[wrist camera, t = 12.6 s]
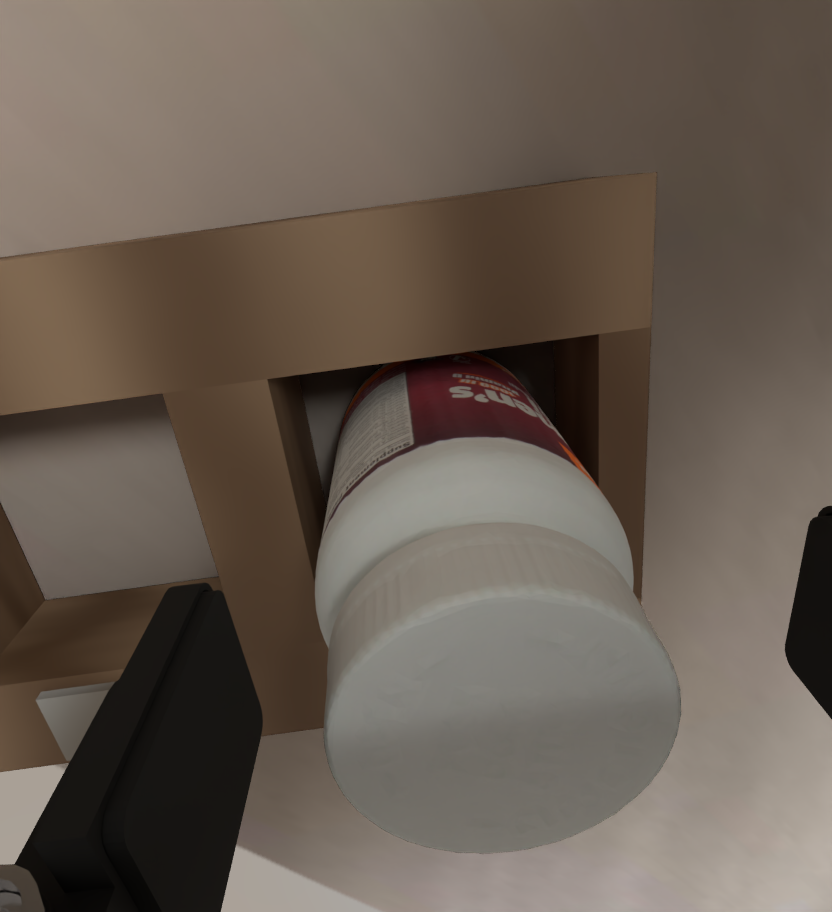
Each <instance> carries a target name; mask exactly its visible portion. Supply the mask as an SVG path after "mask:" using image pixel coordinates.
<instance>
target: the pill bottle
mask: <svg viewBox="0 0 832 912" xmlns="http://www.w3.org/2000/svg"><path fill="white" fill-rule="evenodd" d="M633 578H634V576H633V562H632V557H631V551H630V547H629V544H628V540H627V537H626V534H625V532H624V529H623V527H622V525H621V523H620V521H619V519H618V517H617V515H616V513H615V512H614V510H613V508H612V507H611V505H610V504H609V502H608V501H607V499H606V498H605V496H604V495H603V493H602V492H601V490H600V489H599V487H598V486H597V485H596V483H595V482H594V480H593V479H592V478H591V476H590V475H589V473H588V472H587V471H586V470H585V468H584V466H583V465H582V464H581V463H580V461H579V460H578V459H577V457H576V456H575V454H574V453H573V452H572V450H571V449H570V448H569V446H568V445H567V443H566V442H565V440H564V439H563V438H562V436H561V435H560V433H559V432H558V431H557V430H556V428H555V427H554V426H553V424H552V423H551V421H550V420H549V418H548V417H547V416H546V415H545V413H544V412H543V411H542V410H541V408H540V407H539V405H538V404H537V403H536V401H535V400H534V399H533V397H532V396H531V394H530V393H529V392H528V391H527V389H526V388H525V387H524V386H523V385H522V384H521V382H520V381H519V380H518V379H517V378H516V377H515V376H514V375H513V374H512V373H511V372H510V371H509V370H507V369H506V368H505V367H503V366H502V365H500V364H499V363H498V362H496V361H494V360H492V359H491V358H489V357H486V356H484V355H482V354H480V353H477V352H474V351H470V352H463V353H456V354H448V355H441V356H434V357H426V358H419V359H412V360H404V361H397V362H390V363H386V364H384V365H383V366H382V367H381V368H379V369H378V370H377V371H375V372H374V373H373V374H372V375H371V376H370V377H369V378H368V379H367V380H366V381H365V382H364V383H363V384H362V385H361V387H360V388H359V389H358V391H357V392H356V394H355V395H354V397H353V399H352V400H351V402H350V404H349V406H348V409H347V411H346V414H345V417H344V420H343V423H342V427H341V431H340V436H339V440H338V446H337V452H336V459H335V465H334V471H333V477H332V482H331V488H330V494H329V500H328V505H327V511H326V517H325V522H324V528H323V533H322V539H321V544H320V548H319V552H318V559H317V566H316V577H315V603H316V612H317V617H318V621H319V626H320V629H321V632H322V635H323V637H324V640H325V642H326V644H327V646H328V648H329V651H328V663H327V692H326V703H325V714H324V744H325V752H326V756H327V760H328V764H329V767H330V770H331V772H332V774H333V777H334V779H335V781H336V782H337V784H338V786H339V788H340V789H341V791H342V793H343V794H344V796H345V797H346V798H347V799H348V800H349V802H350V803H351V804H352V805H353V806H354V807H355V808H356V809H357V810H358V811H359V812H360V813H361V814H362V815H364V816H365V817H366V818H368V819H369V820H370V821H372V822H373V823H374V824H376V825H377V826H378V827H380V828H381V829H383V830H385V831H387V832H389V833H390V834H392V835H395V836H397V837H399V838H402V839H404V840H406V841H409V842H412V843H415V844H419V845H422V846H425V847H429V848H434V849H439V850H445V851H452V852H456V853H480V854H483V853H500V852H511V851H519V850H525V849H531V848H534V847H538V846H542V845H546V844H550V843H554V842H557V841H561V840H563V839H565V838H568V837H571V836H573V835H576V834H578V833H580V832H583V831H585V830H587V829H589V828H591V827H593V826H595V825H597V824H599V823H600V822H602V821H604V820H605V819H607V818H609V817H610V816H612V815H614V814H615V813H617V812H618V811H619V810H620V809H622V808H623V807H624V806H625V805H627V804H628V803H629V802H631V801H632V800H633V799H634V798H635V797H637V796H638V795H639V794H640V793H641V792H642V791H643V790H644V789H645V788H646V787H647V786H648V785H649V784H650V782H651V781H652V780H653V778H654V777H655V776H656V775H657V773H658V772H659V771H660V769H661V768H662V766H663V764H664V762H665V761H666V759H667V757H668V756H669V753H670V751H671V749H672V747H673V744H674V740H675V738H676V736H677V732H678V727H679V722H680V716H681V698H680V687H679V683H678V679H677V676H676V673H675V670H674V667H673V664H672V662H671V660H670V657H669V655H668V653H667V651H666V650H665V648H664V646H663V644H662V643H661V641H660V639H659V638H658V636H657V634H656V632H655V631H654V629H653V627H652V626H651V624H650V622H649V621H648V619H647V618H646V616H645V614H644V611H643V609H642V607H641V605H640V603H639V601H638V600H637V598H636V596H635V594H634V593H633Z"/></svg>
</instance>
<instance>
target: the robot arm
mask: <svg viewBox="0 0 832 912" xmlns="http://www.w3.org/2000/svg"><path fill="white" fill-rule="evenodd" d="M785 653H786V657H787V660H788V663H789V665H790V667H791V668H792V670H793V671H794V673H795V674H796V675H797V676H798V678H799V679H800V680H801V681H802V683H803V684H804V685H805V686H806V688H807V689H808V690H809V691H810V693H811V694H812V695H813V696H814V698H815V699H816V700H817V701H818V703H819V704H820V705H821V706H822V708H823V709H824V710H825V711H826V713H827V714H828V715H829V716H830V718H831V719H832V506H827V507H825V508H823V509H822V510H821V511H820V512H819V514H818V517H815V518H813V519H812V520H811V521H810V524H809V526H808V532H807V537H806V542H805V547H804V552H803V557H802V562H801V567H800V572H799V577H798V582H797V588H796V593H795V598H794V603H793V608H792V613H791V618H790V623H789V628H788V633H787V638H786V644H785ZM262 727H263V715H262V709H261V705H260V702H259V699H258V696H257V693H256V690H255V687H254V684H253V681H252V678H251V675H250V672H249V669H248V666H247V663H246V660H245V657H244V654H243V651H242V647H241V644H240V641H239V638H238V635H237V632H236V629H235V626H234V623H233V620H232V617H231V614H230V611H229V608H228V605H227V602H226V599H225V596H224V594H223V592H222V591H220V590H215V591H213V589H212V587H211V586H210V585H209V584H208V583H197V584H188V585H180V586H172V587H170V588H168V590H167V591H166V592H165V594H164V596H163V598H162V600H161V602H160V604H159V606H158V607H157V609H156V611H155V613H154V615H153V617H152V619H151V621H150V622H149V624H148V626H147V628H146V630H145V632H144V634H143V636H142V638H141V639H140V641H139V643H138V645H137V647H136V649H135V651H134V653H133V654H132V656H131V658H130V660H129V662H128V664H127V666H126V668H125V669H124V671H123V673H122V675H121V677H120V679H119V680H118V681H116V682H115V683H114V684H113V685H112V687H111V688H110V690H109V691H108V693H107V695H106V696H105V698H104V700H103V702H102V704H101V706H100V707H99V709H98V711H97V713H96V715H95V717H94V719H93V720H92V722H91V724H90V726H89V728H88V730H87V732H86V733H85V735H84V737H83V739H82V741H81V743H80V744H79V746H78V748H77V750H76V752H75V754H74V756H73V757H72V759H71V761H70V763H69V765H68V767H67V768H66V770H65V772H64V774H63V776H62V778H61V780H60V781H59V783H58V785H57V787H56V789H55V791H54V793H53V794H52V796H51V798H50V800H49V802H48V804H47V805H46V807H45V809H44V811H43V813H42V815H41V817H40V818H39V820H38V822H37V824H36V826H35V828H34V829H33V832H32V833H31V835H30V837H29V839H28V841H27V842H26V844H25V846H24V848H23V850H22V852H21V853H20V855H19V857H18V859H17V861H16V863H15V864H12V865H0V912H221V908H222V903H223V899H224V895H225V890H226V886H227V882H228V877H229V872H230V869H231V864H232V860H233V856H234V851H235V847H236V843H237V838H238V834H239V829H240V825H241V821H242V816H243V812H244V808H245V803H246V799H247V795H248V790H249V786H250V782H251V777H252V773H253V769H254V764H255V760H256V756H257V751H258V747H259V743H260V738H261V734H262Z"/></svg>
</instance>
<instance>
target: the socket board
mask: <svg viewBox="0 0 832 912" xmlns="http://www.w3.org/2000/svg"><path fill="white" fill-rule="evenodd" d="M656 182H657V172H653V173H641V174H628V175H616V176H604V177H592V178H585V179H577V180H570V181H563V182H555V183H548V184H541V185H533V186H526V187H518V188H511V189H504V190H496V191H489V192H481V193H474V194H467V195H459V196H452V197H445V198H437V199H430V200H422V201H415V202H408V203H400V204H393V205H385V206H378V207H371V208H363V209H356V210H349V211H341V212H334V213H326V214H319V215H312V216H304V217H297V218H289V219H282V220H275V221H267V222H260V223H252V224H245V225H238V226H230V227H223V228H216V229H208V230H201V231H193V232H186V233H179V234H171V235H164V236H156V237H149V238H142V239H134V240H127V241H120V242H112V243H105V244H97V245H90V246H83V247H75V248H68V249H60V250H53V251H46V252H38V253H31V254H24V255H16V256H9V257H1V258H0V415H7V414H14V413H22V412H29V411H36V410H44V409H51V408H59V407H66V406H73V405H81V404H88V403H95V402H103V401H110V400H117V399H125V398H132V397H139V396H147V395H154V394H163V398H164V401H165V404H166V407H167V411H168V414H169V417H170V420H171V423H172V427H173V430H174V433H175V436H176V440H177V443H178V446H179V449H180V452H181V456H182V459H183V462H184V465H185V469H186V472H187V475H188V478H189V481H190V485H191V488H192V491H193V494H194V498H195V501H196V504H197V507H198V511H199V514H200V517H201V520H202V523H203V527H204V530H205V533H206V536H207V540H208V543H209V546H210V549H211V552H212V556H213V559H214V562H215V565H216V569H217V572H218V575H219V577H213V578H206V579H198V580H191V581H184V582H176V583H169V584H162V585H154V586H147V587H140V588H132V589H125V590H118V591H110V592H103V593H96V594H88V595H81V596H74V597H67V598H59V599H52V600H45V599H44V597H43V595H42V593H41V591H40V588H39V586H38V584H37V582H36V580H35V578H34V575H33V573H32V571H31V569H30V567H29V565H28V562H27V560H26V558H25V556H24V554H23V552H22V549H21V547H20V545H19V543H18V541H17V539H16V536H15V534H14V532H13V530H12V528H11V526H10V523H9V521H8V519H7V517H6V515H5V513H4V510H3V508H2V506H1V504H0V772H4V771H12V770H19V769H26V768H33V767H41V766H48V765H55V764H63V763H70V761H71V759H72V757H73V756H74V754H75V752H76V750H77V748H78V746H79V744H80V743H81V741H82V739H83V737H84V735H85V733H86V732H87V730H88V728H89V726H90V724H91V722H92V720H93V719H94V717H95V715H96V713H97V711H98V709H99V707H100V706H101V704H102V702H103V700H104V698H105V696H106V695H107V693H108V691H109V690H110V688H111V687H112V685H113V684H114V683H115V682H116V681H118V680H119V679H120V677H121V675H122V673H123V671H124V669H125V668H126V666H127V664H128V662H129V660H130V658H131V656H132V654H133V653H134V651H135V649H136V647H137V645H138V643H139V641H140V639H141V638H142V636H143V634H144V632H145V630H146V628H147V626H148V624H149V622H150V621H151V619H152V617H153V615H154V613H155V611H156V609H157V607H158V606H159V604H160V602H161V600H162V598H163V596H164V594H165V592H166V591H167V590H168V588H170V587H172V586H180V585H188V584H197V583H208V584H209V585H210V586H211V587H212V589H213V591H215V590H220V591H222V592H223V594H224V596H225V599H226V602H227V605H228V608H229V611H230V614H231V617H232V620H233V623H234V626H235V629H236V632H237V635H238V638H239V641H240V644H241V647H242V651H243V654H244V657H245V660H246V663H247V666H248V669H249V672H250V675H251V678H252V681H253V684H254V687H255V690H256V693H257V696H258V699H259V702H260V705H261V709H262V715H263V727H262V734H261V736H267V735H274V734H281V733H289V732H296V731H303V730H311V729H318V728H324V714H325V703H326V692H327V663H328V651H329V648H328V646H327V644H326V642H325V640H324V637H323V635H322V632H321V629H320V626H319V621H318V617H317V612H316V603H315V577H316V566H317V559H318V552H319V548H320V544H321V539H322V533H323V528H324V522H325V517H326V511H327V509H326V504H325V499H324V495H323V490H322V485H321V480H320V476H319V471H318V466H317V461H316V457H315V452H314V447H313V442H312V438H311V433H310V428H309V423H308V419H307V414H306V409H305V404H304V400H303V395H302V390H301V385H300V381H299V376H298V375H301V374H309V373H316V372H323V371H331V370H338V369H345V368H353V367H360V366H367V365H375V364H382V363H390V362H397V361H404V360H412V359H419V358H426V357H434V356H441V355H448V354H456V353H463V352H470V351H478V350H485V349H493V348H500V347H507V346H515V345H522V344H529V343H537V342H544V341H551V340H553V347H554V380H555V413H556V430H557V431H558V432H559V433H560V435H561V436H562V438H563V439H564V440H565V442H566V443H567V445H568V446H569V448H570V449H571V450H572V452H573V453H574V454H575V456H576V457H577V459H578V460H579V461H580V463H581V464H582V465H583V466H584V468H585V470H586V471H587V472H588V473H589V475H590V476H591V478H592V479H593V480H594V482H595V483H596V485H597V486H598V487H599V489H600V490H601V492H602V493H603V495H604V496H605V498H606V499H607V501H608V502H609V504H610V505H611V507H612V508H613V510H614V512H615V513H616V515H617V517H618V519H619V521H620V523H621V525H622V527H623V529H624V532H625V534H626V537H627V540H628V544H629V547H630V551H631V557H632V562H633V576H634V578H633V593H634V594H635V596H636V598H637V600H638V601H639V603H640V605H641V593H642V566H643V538H644V511H645V483H646V456H647V429H648V401H649V374H650V346H651V319H652V292H653V264H654V237H655V209H656Z"/></svg>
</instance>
